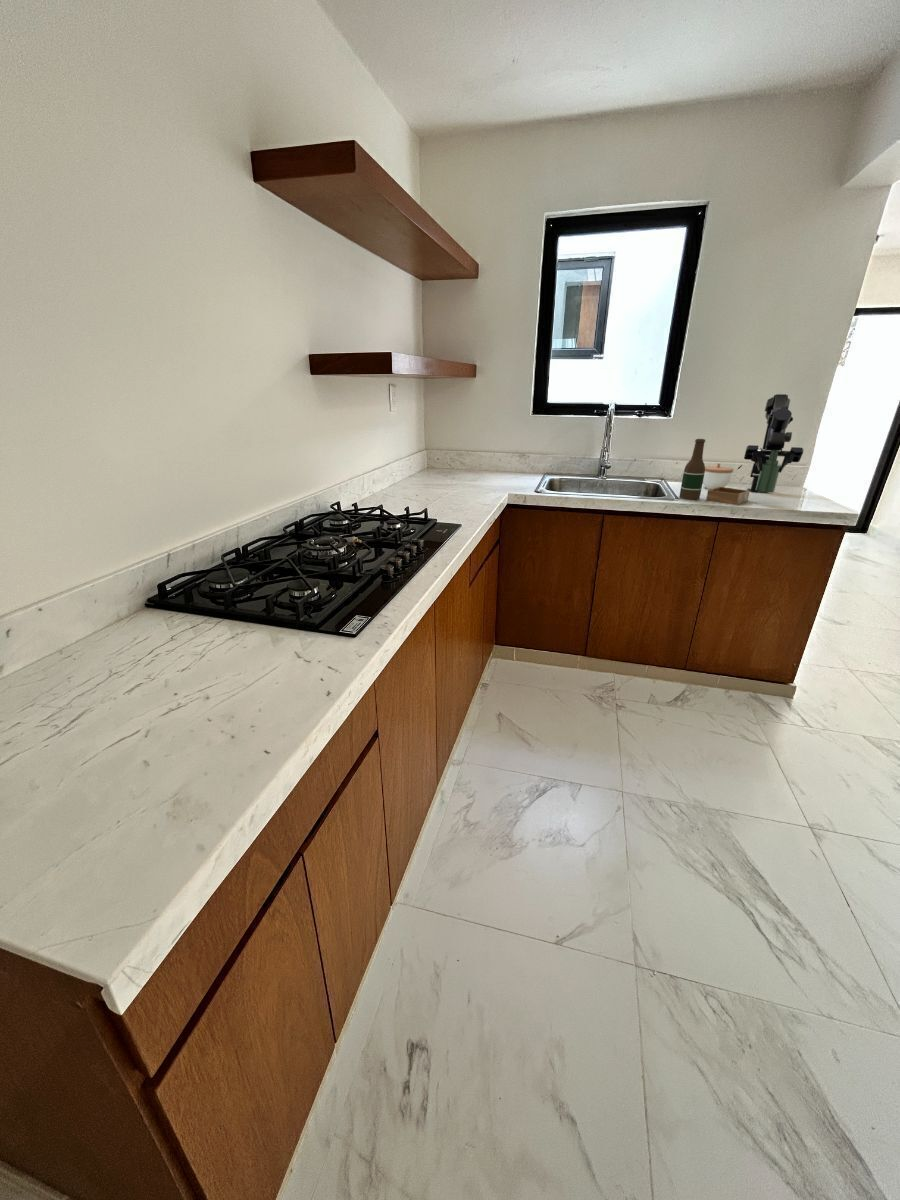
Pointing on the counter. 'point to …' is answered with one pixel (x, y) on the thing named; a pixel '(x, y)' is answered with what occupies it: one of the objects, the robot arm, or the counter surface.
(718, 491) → the wooden tray
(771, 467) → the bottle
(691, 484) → the beer bottle
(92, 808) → the counter surface
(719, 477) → the lidded bowl
